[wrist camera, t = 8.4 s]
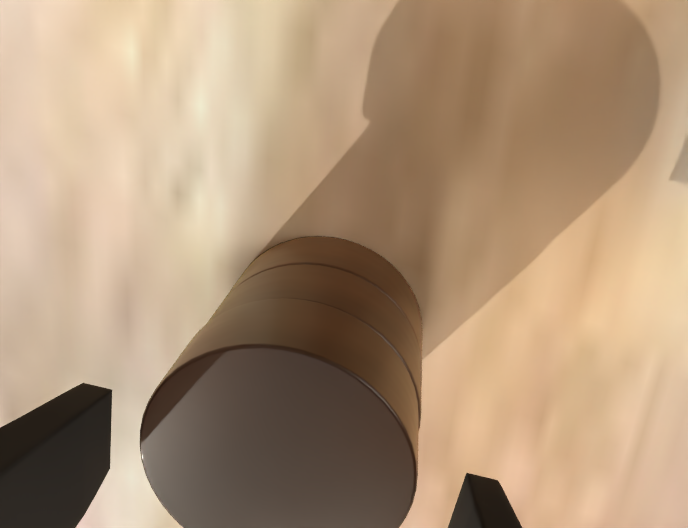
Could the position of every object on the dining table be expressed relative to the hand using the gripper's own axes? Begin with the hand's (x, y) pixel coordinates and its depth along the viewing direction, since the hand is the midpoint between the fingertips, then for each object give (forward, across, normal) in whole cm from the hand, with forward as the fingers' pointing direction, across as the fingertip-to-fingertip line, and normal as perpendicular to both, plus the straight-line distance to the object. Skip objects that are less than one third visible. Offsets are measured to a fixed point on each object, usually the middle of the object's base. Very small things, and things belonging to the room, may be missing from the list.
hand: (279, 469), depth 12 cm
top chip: (+2, 0, 0) cm, 2 cm away
